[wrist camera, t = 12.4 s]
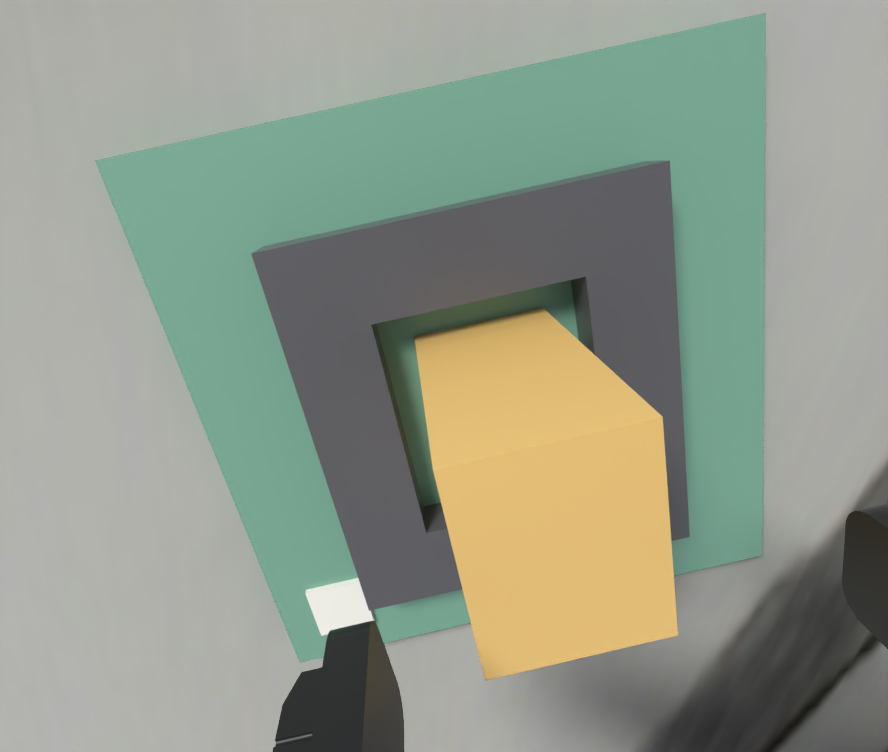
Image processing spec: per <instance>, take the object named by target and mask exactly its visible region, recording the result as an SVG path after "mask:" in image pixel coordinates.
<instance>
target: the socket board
mask: <svg viewBox="0 0 888 752" xmlns="http://www.w3.org/2000/svg"><path fill="white" fill-rule="evenodd" d="M765 52H766V13H763V14H759V15H754V16H750V17H745V18H741V19H736V20H732V21H727V22H722V23H718V24H713V25H709V26H704V27H700V28H695V29H691V30H686V31H682V32H677V33H673V34H668V35H663V36H659V37H654V38H650V39H645V40H641V41H636V42H632V43H627V44H623V45H618V46H614V47H609V48H604V49H600V50H595V51H591V52H586V53H582V54H577V55H573V56H568V57H564V58H559V59H555V60H550V61H545V62H541V63H536V64H532V65H527V66H523V67H518V68H514V69H509V70H505V71H500V72H496V73H491V74H486V75H482V76H477V77H473V78H468V79H464V80H459V81H455V82H450V83H446V84H441V85H437V86H432V87H427V88H423V89H418V90H414V91H409V92H405V93H400V94H396V95H391V96H387V97H382V98H378V99H373V100H368V101H364V102H359V103H355V104H350V105H346V106H341V107H337V108H332V109H328V110H323V111H319V112H314V113H309V114H305V115H300V116H296V117H291V118H287V119H282V120H278V121H273V122H269V123H264V124H260V125H255V126H250V127H246V128H241V129H237V130H232V131H228V132H223V133H219V134H214V135H210V136H205V137H201V138H196V139H191V140H187V141H182V142H178V143H173V144H169V145H164V146H160V147H155V148H151V149H146V150H142V151H137V152H132V153H128V154H123V155H119V156H114V157H110V158H105V159H101V160H96V161H95V162H96V164H97V167H98V169H99V171H100V174H101V176H102V179H103V181H104V184H105V186H106V189H107V191H108V194H109V196H110V198H111V201H112V203H113V206H114V208H115V211H116V213H117V216H118V218H119V220H120V223H121V225H122V228H123V230H124V233H125V235H126V238H127V240H128V243H129V245H130V247H131V250H132V252H133V255H134V257H135V260H136V262H137V265H138V267H139V270H140V272H141V274H142V277H143V279H144V282H145V284H146V287H147V289H148V292H149V294H150V296H151V299H152V301H153V304H154V306H155V309H156V311H157V314H158V316H159V319H160V321H161V323H162V326H163V328H164V331H165V333H166V336H167V338H168V341H169V343H170V346H171V348H172V350H173V353H174V355H175V358H176V360H177V363H178V365H179V368H180V370H181V372H182V375H183V377H184V380H185V382H186V385H187V387H188V390H189V392H190V395H191V397H192V399H193V402H194V404H195V407H196V409H197V412H198V414H199V417H200V419H201V422H202V424H203V426H204V429H205V431H206V434H207V436H208V439H209V441H210V444H211V446H212V448H213V451H214V453H215V456H216V458H217V461H218V463H219V466H220V468H221V471H222V473H223V475H224V478H225V480H226V483H227V485H228V488H229V490H230V493H231V495H232V498H233V500H234V502H235V505H236V507H237V510H238V512H239V515H240V517H241V520H242V522H243V524H244V527H245V529H246V532H247V534H248V537H249V539H250V542H251V544H252V547H253V549H254V551H255V554H256V556H257V559H258V561H259V564H260V566H261V569H262V571H263V574H264V576H265V578H266V581H267V583H268V586H269V588H270V591H271V593H272V596H273V598H274V600H275V603H276V605H277V608H278V610H279V613H280V615H281V618H282V620H283V623H284V625H285V627H286V630H287V632H288V635H289V637H290V640H291V642H292V645H293V647H294V650H295V652H296V654H297V657H298V659H299V662H304V661H309V660H313V659H317V658H322V657H324V653H325V646H326V640H327V636H328V633H329V631H331V630H334V629H338V628H343V627H347V626H351V625H356V624H360V623H364V622H369V621H375V622H376V624H377V626H378V629H379V631H380V634H381V637H382V640H383V643H386V642H391V641H395V640H399V639H404V638H408V637H412V636H417V635H421V634H425V633H430V632H434V631H438V630H443V629H447V628H451V627H455V626H460V625H464V624H468V623H471V621H470V617H469V613H468V609H467V605H466V601H465V597H464V593H463V589H462V585H461V581H460V577H459V573H458V569H457V565H456V561H455V557H454V553H453V549H452V545H451V541H450V537H449V533H448V529H447V525H446V521H445V517H444V513H443V508H442V504H441V500H440V496H439V492H438V488H437V484H436V480H435V476H434V472H433V467H432V460H431V453H430V446H429V438H428V431H427V424H426V417H425V410H424V403H423V395H422V388H421V381H420V374H419V367H418V360H417V352H416V345H415V338H414V336H418V335H422V334H427V333H431V332H436V331H440V330H444V329H449V328H453V327H458V326H462V325H466V324H471V323H475V322H480V321H484V320H488V319H493V318H497V317H502V316H506V315H510V314H515V313H519V312H524V311H528V310H532V309H537V308H541V307H543V308H544V309H545V310H546V311H547V312H548V313H549V314H550V315H551V316H553V317H554V318H555V319H556V320H557V321H558V322H559V323H560V324H561V325H562V326H564V327H565V328H566V329H567V330H568V331H569V332H570V333H571V334H572V335H573V336H575V337H576V338H577V339H578V340H579V341H580V342H581V343H582V344H583V345H584V346H586V347H587V348H588V349H589V350H590V351H591V352H592V353H593V354H594V355H595V356H596V357H598V358H599V359H600V360H601V361H602V362H603V363H604V364H605V365H606V366H607V367H609V368H610V369H611V370H612V371H613V372H614V373H615V374H616V375H617V376H618V377H620V378H621V379H622V380H623V381H624V382H625V383H626V384H627V385H628V386H629V387H631V388H632V389H633V390H634V391H635V392H636V393H637V394H638V395H639V396H640V397H642V398H643V399H644V400H645V401H646V402H647V403H648V404H649V405H650V406H651V407H653V408H654V409H655V410H656V411H657V412H658V413H659V414H660V415H661V416H662V417H663V429H664V443H665V457H666V471H667V486H668V500H669V514H670V529H671V543H672V557H673V571H674V576H676V575H680V574H684V573H689V572H693V571H697V570H702V569H706V568H710V567H715V566H719V565H723V564H728V563H732V562H736V561H741V560H745V559H749V558H754V557H758V556H762V555H763V389H764V220H765Z"/></svg>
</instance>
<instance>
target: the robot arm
mask: <svg viewBox="0 0 888 752" xmlns="http://www.w3.org/2000/svg"><path fill="white" fill-rule="evenodd" d="M842 586H843V591H844V595H845V597H846V600H847V602H848V604H849V606H850V608H851V610H852V611H853V613H854V614H855V616H856V617H857V618H858V619H859V621H860V622H861V623H862V624H863V625H864V626H865V627H866V628H867V629H868V630H869V631H870V632H871V633H872V634H873V635H874V636H875V637H876V638H877V639H878V640H879V641H880V642H881V643H882V644H883V645H884V646H885V647H886V648H887V649H888V504H884V505H880V506H875V507H871V508H867V509H862V510H858V511H854V512H852V513H850V514H849V515H848V517H847V520H846V528H845V544H844V560H843V576H842ZM275 741H276V746H275V747H274V748H273V752H404V719H403V709H402V702H401V696H400V691H399V687H398V683H397V680H396V677H395V675H394V672H393V669H392V666H391V663H390V660H389V657H388V654H387V652H386V649H385V646H384V643H383V640H382V637H381V634H380V631H379V629H378V626H377V624H376V622H375V621H369V622H364V623H360V624H356V625H351V626H347V627H343V628H338V629H334V630H331V631H329V633H328V636H327V640H326V646H325V653H324V660H323V666H322V668H318V669H314V670H310V671H305V672H302V673H301V674H300V676H299V678H298V679H297V681H296V683H295V685H294V686H293V688H292V690H291V691H290V693H289V695H288V697H287V698H286V700H285V702H284V703H283V706H282V711H281V715H280V720H279V725H278V729H277V734H276V739H275Z"/></svg>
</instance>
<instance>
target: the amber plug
mask: <svg viewBox="0 0 888 752" xmlns="http://www.w3.org/2000/svg"><path fill="white" fill-rule="evenodd" d="M414 338H415V345H416V352H417V360H418V367H419V374H420V381H421V388H422V395H423V403H424V410H425V417H426V424H427V431H428V438H429V446H430V453H431V460H432V467H433V472H434V476H435V480H436V484H437V488H438V492H439V496H440V500H441V504H442V508H443V513H444V517H445V521H446V525H447V529H448V533H449V537H450V541H451V545H452V549H453V553H454V557H455V561H456V565H457V569H458V573H459V577H460V581H461V585H462V589H463V593H464V597H465V601H466V605H467V609H468V613H469V617H470V621H471V625H472V629H473V633H474V637H475V641H476V645H477V649H478V653H479V657H480V661H481V666H482V670H483V674H484V678H485V680H490V679H494V678H498V677H503V676H507V675H511V674H515V673H520V672H524V671H528V670H532V669H537V668H541V667H545V666H550V665H554V664H558V663H562V662H567V661H571V660H575V659H579V658H584V657H588V656H592V655H597V654H601V653H605V652H609V651H614V650H618V649H622V648H626V647H631V646H635V645H639V644H643V643H648V642H652V641H656V640H661V639H665V638H669V637H673V636H678V629H677V614H676V600H675V586H674V571H673V557H672V543H671V529H670V514H669V500H668V486H667V471H666V457H665V443H664V429H663V417H662V416H661V415H660V414H659V413H658V412H657V411H656V410H655V409H654V408H653V407H651V406H650V405H649V404H648V403H647V402H646V401H645V400H644V399H643V398H642V397H640V396H639V395H638V394H637V393H636V392H635V391H634V390H633V389H632V388H631V387H629V386H628V385H627V384H626V383H625V382H624V381H623V380H622V379H621V378H620V377H618V376H617V375H616V374H615V373H614V372H613V371H612V370H611V369H610V368H609V367H607V366H606V365H605V364H604V363H603V362H602V361H601V360H600V359H599V358H598V357H596V356H595V355H594V354H593V353H592V352H591V351H590V350H589V349H588V348H587V347H586V346H584V345H583V344H582V343H581V342H580V341H579V340H578V339H577V338H576V337H575V336H573V335H572V334H571V333H570V332H569V331H568V330H567V329H566V328H565V327H564V326H562V325H561V324H560V323H559V322H558V321H557V320H556V319H555V318H554V317H553V316H551V315H550V314H549V313H548V312H547V311H546V310H545V309H544V308H543V307H541V308H537V309H532V310H528V311H524V312H519V313H515V314H510V315H506V316H502V317H497V318H493V319H488V320H484V321H480V322H475V323H471V324H466V325H462V326H458V327H453V328H449V329H444V330H440V331H436V332H431V333H427V334H422V335H418V336H414Z"/></svg>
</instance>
